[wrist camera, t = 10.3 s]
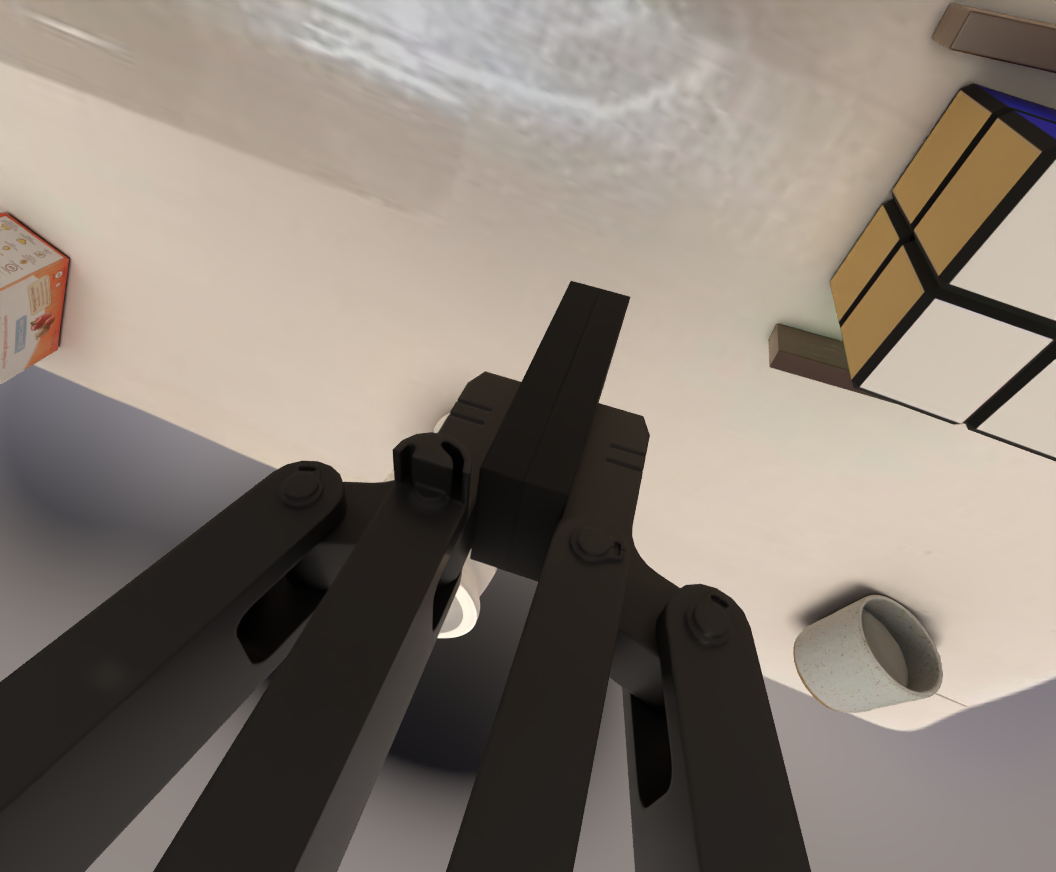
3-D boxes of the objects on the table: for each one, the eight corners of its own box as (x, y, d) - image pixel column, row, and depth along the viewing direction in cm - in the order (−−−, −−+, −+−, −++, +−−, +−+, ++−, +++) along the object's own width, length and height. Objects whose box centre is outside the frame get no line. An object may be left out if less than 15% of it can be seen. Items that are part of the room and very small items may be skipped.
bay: (950, 2, 22) (971, 10, 20) (1313, 79, 21) (1376, 95, 19) (768, 339, 34) (769, 367, 32) (994, 404, 32) (1011, 437, 30)
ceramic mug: (783, 617, 50) (788, 701, 45) (852, 578, 45) (867, 669, 39) (884, 666, 51) (901, 754, 46) (964, 633, 45) (995, 730, 40)
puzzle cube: (1201, 155, 23) (1400, 255, 16) (1004, 346, 30) (1081, 475, 23) (964, 79, 24) (1054, 142, 17) (825, 284, 31) (847, 390, 24)
